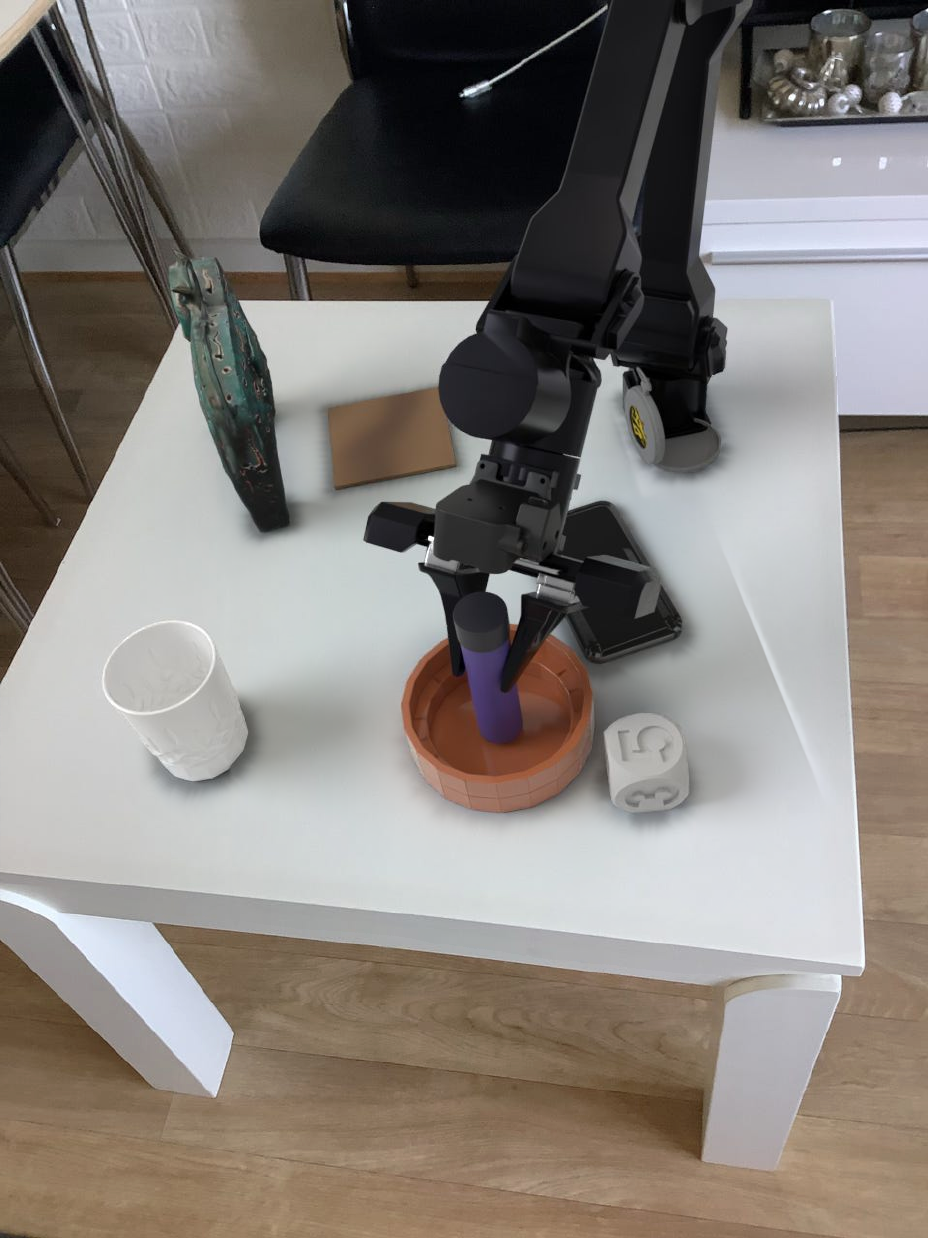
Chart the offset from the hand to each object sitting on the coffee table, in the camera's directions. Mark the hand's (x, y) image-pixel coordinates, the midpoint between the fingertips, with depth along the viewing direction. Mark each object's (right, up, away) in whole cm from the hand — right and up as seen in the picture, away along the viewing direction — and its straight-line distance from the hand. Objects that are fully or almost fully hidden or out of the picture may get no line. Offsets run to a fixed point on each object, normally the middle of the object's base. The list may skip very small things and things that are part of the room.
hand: (480, 683), depth 69 cm
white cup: (-20, -5, +10) cm, 23 cm away
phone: (+10, +7, +15) cm, 19 cm away
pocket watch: (+17, +19, +23) cm, 34 cm away
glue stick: (+2, -3, +6) cm, 7 cm away
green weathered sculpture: (-20, +19, +29) cm, 40 cm away
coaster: (-8, +21, +29) cm, 36 cm away
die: (+11, -7, +3) cm, 14 cm away
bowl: (+2, -4, +7) cm, 8 cm away
